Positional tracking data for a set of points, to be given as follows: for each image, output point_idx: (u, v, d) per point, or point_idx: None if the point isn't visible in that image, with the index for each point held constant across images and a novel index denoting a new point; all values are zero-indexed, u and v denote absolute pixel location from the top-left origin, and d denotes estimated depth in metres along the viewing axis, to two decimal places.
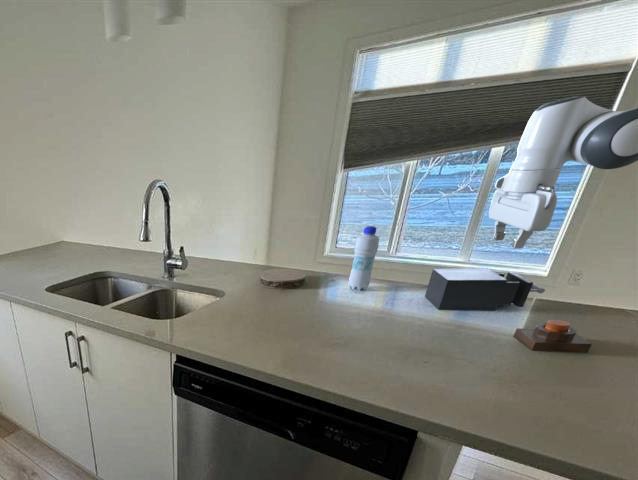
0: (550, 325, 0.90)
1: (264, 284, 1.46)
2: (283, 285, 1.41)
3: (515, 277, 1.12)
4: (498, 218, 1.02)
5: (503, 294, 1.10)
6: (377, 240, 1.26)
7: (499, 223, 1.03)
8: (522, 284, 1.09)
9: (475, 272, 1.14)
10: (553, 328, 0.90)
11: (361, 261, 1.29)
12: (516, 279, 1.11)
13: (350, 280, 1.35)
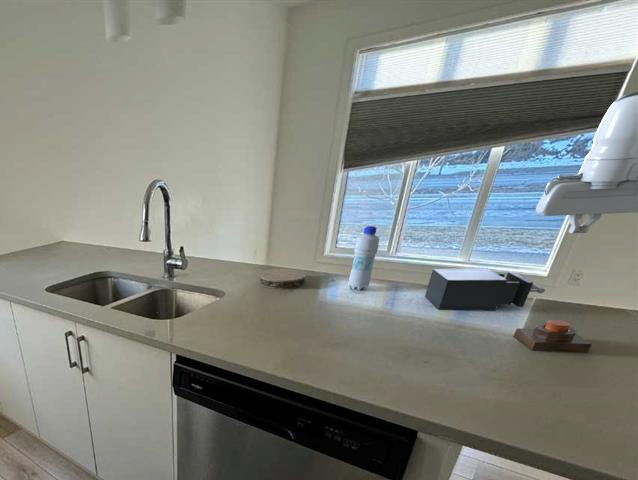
0: (550, 325, 0.90)
1: (264, 284, 1.46)
2: (283, 285, 1.41)
3: (515, 277, 1.12)
4: None
5: (503, 294, 1.10)
6: (377, 240, 1.26)
7: (588, 215, 1.01)
8: (522, 284, 1.09)
9: (475, 272, 1.14)
10: (553, 328, 0.90)
11: (361, 261, 1.29)
12: (516, 279, 1.11)
13: (350, 280, 1.35)
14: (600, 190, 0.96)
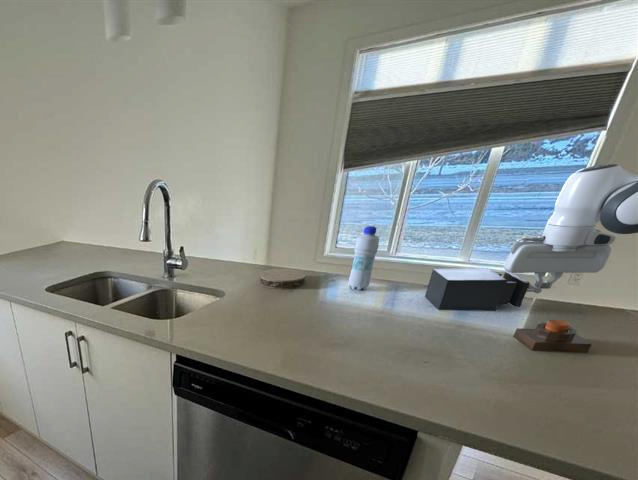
0: (550, 325, 0.90)
1: (264, 284, 1.46)
2: (283, 285, 1.41)
3: (512, 277, 1.12)
4: None
5: None
6: (377, 240, 1.26)
7: (551, 273, 1.09)
8: (519, 284, 1.09)
9: (475, 272, 1.14)
10: (553, 328, 0.90)
11: (361, 261, 1.29)
12: (513, 279, 1.12)
13: (350, 280, 1.35)
14: (561, 252, 1.04)
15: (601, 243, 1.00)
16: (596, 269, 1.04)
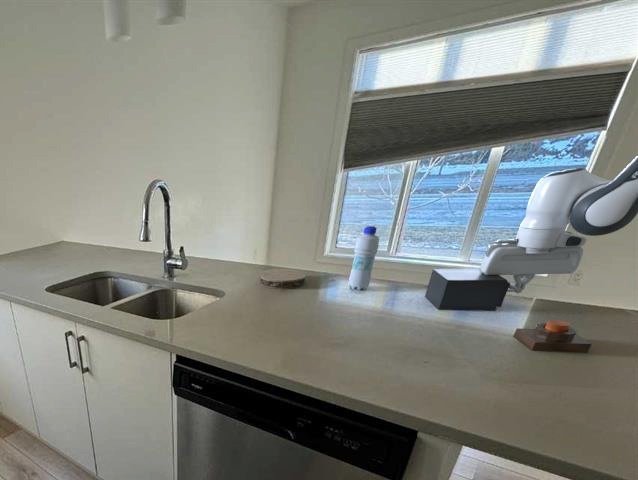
0: (550, 325, 0.90)
1: (264, 284, 1.46)
2: (283, 285, 1.41)
3: None
4: None
5: None
6: (377, 240, 1.26)
7: (524, 274, 1.11)
8: None
9: (475, 272, 1.14)
10: (553, 328, 0.90)
11: (361, 261, 1.29)
12: None
13: (350, 280, 1.35)
14: (534, 254, 1.06)
15: (573, 245, 1.02)
16: (570, 270, 1.06)
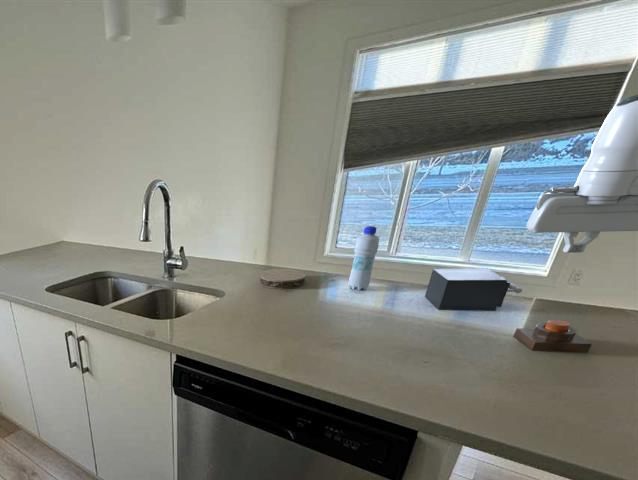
0: (550, 325, 0.90)
1: (264, 284, 1.46)
2: (283, 285, 1.41)
3: None
4: None
5: None
6: (377, 240, 1.26)
7: (585, 233, 0.90)
8: None
9: (475, 272, 1.14)
10: (553, 328, 0.90)
11: (361, 261, 1.29)
12: None
13: (350, 280, 1.35)
14: (598, 205, 0.85)
15: None
16: None
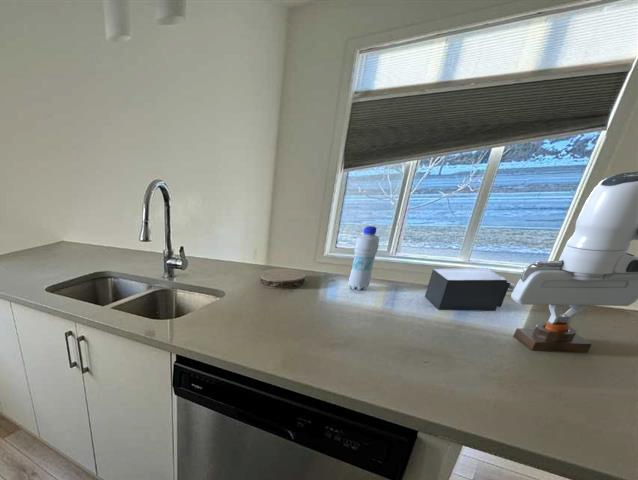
0: (550, 325, 0.90)
1: (264, 284, 1.46)
2: (283, 285, 1.41)
3: None
4: None
5: None
6: (377, 240, 1.26)
7: (571, 305, 0.88)
8: None
9: (475, 272, 1.14)
10: (553, 328, 0.90)
11: (361, 261, 1.29)
12: None
13: (350, 280, 1.35)
14: (584, 280, 0.84)
15: (635, 271, 0.80)
16: (627, 302, 0.84)
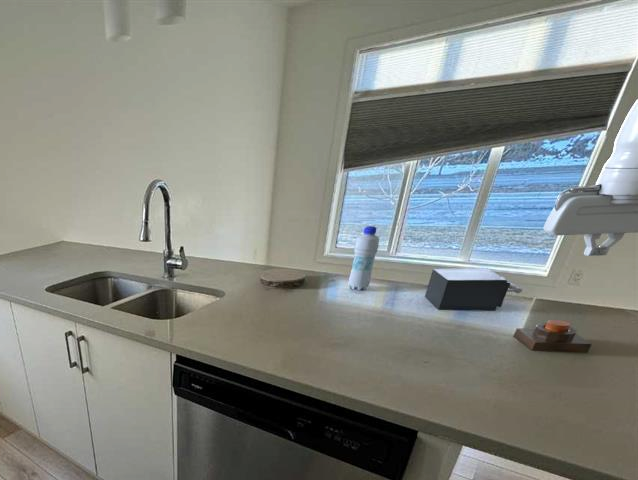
0: (550, 325, 0.90)
1: (264, 284, 1.46)
2: (283, 285, 1.41)
3: None
4: None
5: None
6: (377, 240, 1.26)
7: (608, 234, 0.84)
8: None
9: (475, 272, 1.14)
10: (553, 328, 0.90)
11: (361, 261, 1.29)
12: None
13: (350, 280, 1.35)
14: (623, 204, 0.79)
15: None
16: None
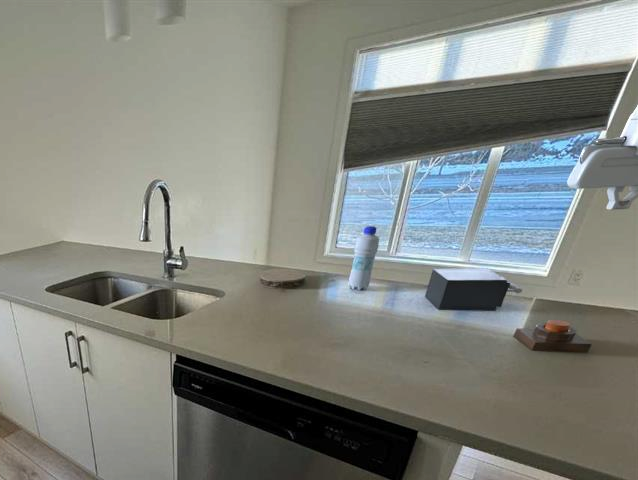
0: (550, 325, 0.90)
1: (264, 284, 1.46)
2: (283, 285, 1.41)
3: None
4: None
5: None
6: (377, 240, 1.26)
7: (631, 188, 0.85)
8: None
9: (475, 272, 1.14)
10: (553, 328, 0.90)
11: (361, 261, 1.29)
12: None
13: (350, 280, 1.35)
14: None
15: None
16: None
